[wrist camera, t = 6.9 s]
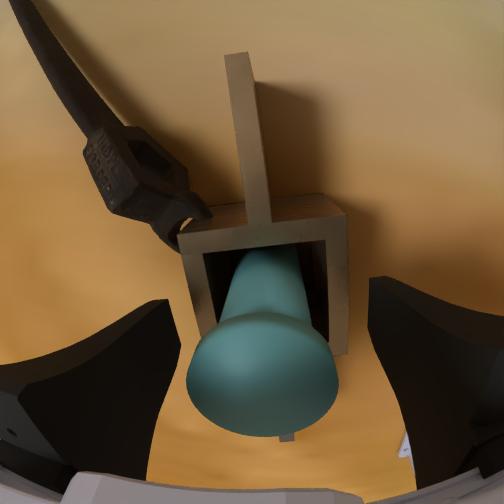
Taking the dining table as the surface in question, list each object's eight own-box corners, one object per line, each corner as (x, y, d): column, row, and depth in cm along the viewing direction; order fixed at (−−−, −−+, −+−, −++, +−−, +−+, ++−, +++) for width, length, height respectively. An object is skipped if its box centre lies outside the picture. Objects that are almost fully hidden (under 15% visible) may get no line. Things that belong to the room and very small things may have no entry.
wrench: (57, -65, 10) (275, 190, 15) (16, -24, 11) (196, 247, 16) (22, -85, 5) (265, 208, 10) (-21, -37, 6) (155, 287, 11)
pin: (306, 287, 17) (334, 431, 8) (237, 293, 17) (203, 436, 8) (302, 219, 16) (341, 323, 6) (228, 226, 16) (169, 333, 7)
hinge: (329, 377, 19) (341, 435, 14) (240, 386, 20) (232, 443, 15) (307, 75, 13) (324, 45, 8) (186, 92, 14) (151, 72, 9)
